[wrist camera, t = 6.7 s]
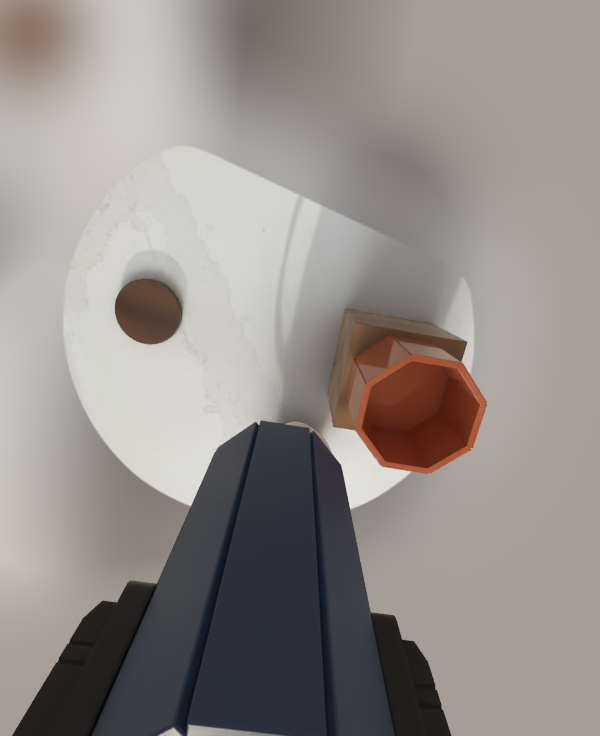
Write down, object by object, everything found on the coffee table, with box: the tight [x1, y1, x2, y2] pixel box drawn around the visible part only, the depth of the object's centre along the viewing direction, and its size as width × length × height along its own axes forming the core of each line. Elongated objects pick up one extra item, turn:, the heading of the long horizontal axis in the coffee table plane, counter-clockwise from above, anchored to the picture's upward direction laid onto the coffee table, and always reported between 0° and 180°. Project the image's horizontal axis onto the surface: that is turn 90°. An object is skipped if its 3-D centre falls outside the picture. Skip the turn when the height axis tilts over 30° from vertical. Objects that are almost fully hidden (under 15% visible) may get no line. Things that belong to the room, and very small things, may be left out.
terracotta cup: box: [345, 335, 487, 474], centre depth 31 cm, size 9×9×7 cm
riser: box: [328, 309, 467, 430], centre depth 39 cm, size 10×10×9 cm
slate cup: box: [90, 421, 395, 736], centre depth 12 cm, size 6×6×11 cm
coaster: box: [115, 279, 182, 344], centre depth 42 cm, size 7×7×1 cm
